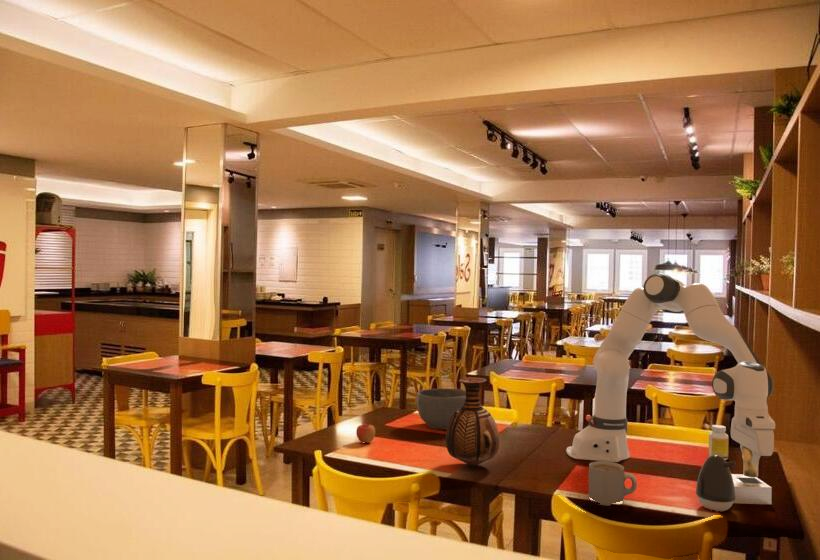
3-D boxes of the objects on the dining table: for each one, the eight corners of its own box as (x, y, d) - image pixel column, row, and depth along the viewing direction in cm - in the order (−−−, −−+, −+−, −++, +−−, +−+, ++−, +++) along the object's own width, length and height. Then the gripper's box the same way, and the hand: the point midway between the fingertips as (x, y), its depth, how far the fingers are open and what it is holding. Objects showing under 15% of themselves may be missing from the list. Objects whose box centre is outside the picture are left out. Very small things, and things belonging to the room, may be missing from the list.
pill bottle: (730, 461, 237) (730, 429, 237) (710, 460, 238) (711, 427, 238) (725, 456, 243) (726, 424, 243) (706, 455, 244) (707, 423, 244)
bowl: (412, 420, 294) (412, 387, 294) (466, 420, 297) (466, 386, 297) (419, 434, 270) (419, 398, 270) (477, 433, 272) (478, 397, 272)
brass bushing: (747, 477, 197) (747, 450, 197) (740, 473, 201) (741, 446, 201) (760, 477, 197) (761, 450, 197) (754, 473, 201) (754, 447, 201)
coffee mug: (586, 502, 193) (586, 468, 193) (591, 492, 202) (591, 459, 202) (634, 509, 187) (635, 474, 187) (637, 498, 196) (638, 465, 196)
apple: (378, 443, 255) (379, 422, 255) (362, 446, 251) (362, 425, 251) (369, 439, 261) (369, 419, 261) (352, 442, 257) (353, 421, 257)
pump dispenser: (729, 518, 182) (730, 463, 182) (690, 508, 189) (691, 455, 189) (740, 508, 190) (741, 455, 189) (702, 499, 196) (703, 448, 196)
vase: (507, 475, 218) (508, 384, 217) (453, 477, 215) (454, 385, 214) (488, 456, 239) (489, 373, 238) (439, 458, 236) (440, 374, 235)
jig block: (722, 502, 194) (722, 485, 194) (706, 489, 206) (706, 473, 206) (771, 504, 193) (771, 487, 193) (752, 490, 205) (752, 474, 205)
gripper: (725, 409, 210) (724, 452, 210) (756, 424, 189) (755, 472, 189) (745, 409, 209) (745, 453, 209) (778, 424, 189) (777, 473, 189)
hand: (750, 462), depth 199 cm, fingers closed on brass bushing, 4 cm apart
